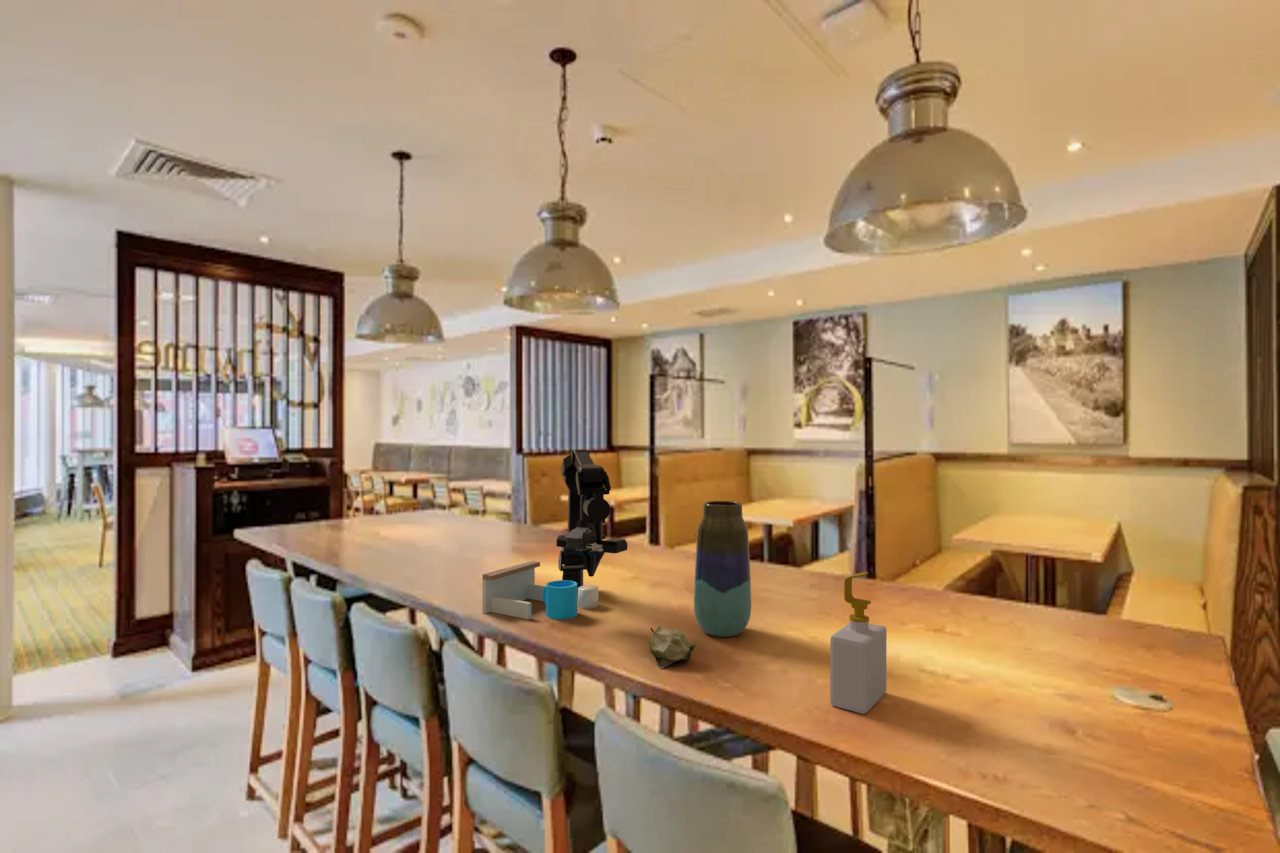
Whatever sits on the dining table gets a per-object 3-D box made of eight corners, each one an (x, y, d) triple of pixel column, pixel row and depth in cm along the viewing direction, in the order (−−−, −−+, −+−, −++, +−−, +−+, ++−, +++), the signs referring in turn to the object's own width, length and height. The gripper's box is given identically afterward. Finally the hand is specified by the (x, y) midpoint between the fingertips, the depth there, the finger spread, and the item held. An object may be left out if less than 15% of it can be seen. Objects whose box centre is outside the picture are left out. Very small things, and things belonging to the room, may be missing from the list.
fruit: (641, 664, 141) (641, 625, 143) (680, 662, 145) (679, 624, 147) (660, 671, 133) (660, 629, 135) (701, 668, 137) (700, 628, 138)
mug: (583, 614, 173) (583, 583, 173) (559, 621, 167) (559, 589, 167) (555, 605, 182) (555, 576, 181) (531, 611, 176) (531, 581, 176)
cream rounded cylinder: (585, 602, 185) (585, 584, 185) (602, 604, 182) (602, 587, 182) (573, 606, 180) (573, 588, 180) (590, 609, 178) (590, 591, 178)
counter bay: (531, 595, 192) (531, 560, 192) (570, 602, 185) (570, 566, 184) (482, 612, 174) (482, 574, 174) (523, 621, 167) (523, 581, 167)
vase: (682, 632, 159) (682, 503, 158) (716, 619, 169) (716, 498, 168) (729, 645, 149) (729, 508, 149) (762, 631, 159) (762, 502, 159)
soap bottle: (865, 716, 113) (866, 581, 113) (828, 706, 117) (829, 575, 117) (887, 693, 123) (888, 568, 123) (852, 684, 127) (853, 564, 127)
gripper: (542, 516, 166) (542, 578, 167) (604, 522, 157) (604, 588, 157) (569, 511, 176) (569, 569, 176) (628, 517, 167) (628, 578, 167)
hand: (591, 576), depth 169 cm, fingers closed
